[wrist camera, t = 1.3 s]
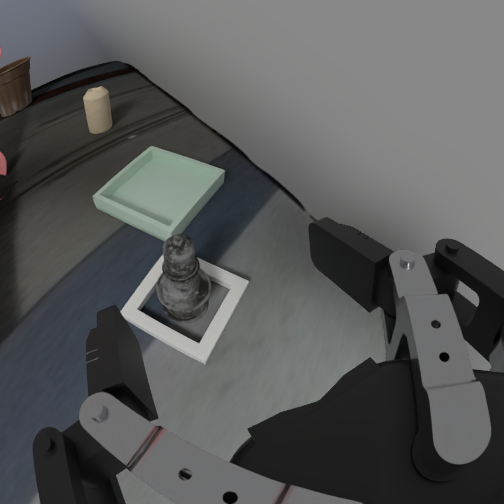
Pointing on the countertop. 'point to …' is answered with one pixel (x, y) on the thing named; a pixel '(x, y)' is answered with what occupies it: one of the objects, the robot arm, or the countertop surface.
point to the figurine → (3, 159)
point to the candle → (98, 110)
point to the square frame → (174, 338)
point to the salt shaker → (182, 281)
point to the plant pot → (15, 87)
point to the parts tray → (159, 192)
